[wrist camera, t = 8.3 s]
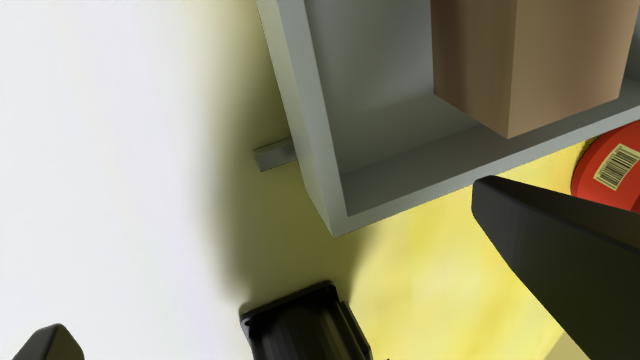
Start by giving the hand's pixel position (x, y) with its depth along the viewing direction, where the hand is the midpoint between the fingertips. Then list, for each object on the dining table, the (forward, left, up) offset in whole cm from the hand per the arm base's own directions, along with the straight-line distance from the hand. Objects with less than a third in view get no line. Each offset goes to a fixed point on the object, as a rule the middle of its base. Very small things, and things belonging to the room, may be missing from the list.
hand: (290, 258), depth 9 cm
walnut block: (+12, 0, -9) cm, 15 cm away
